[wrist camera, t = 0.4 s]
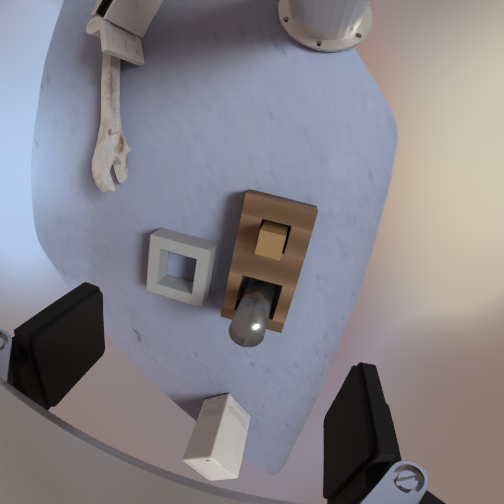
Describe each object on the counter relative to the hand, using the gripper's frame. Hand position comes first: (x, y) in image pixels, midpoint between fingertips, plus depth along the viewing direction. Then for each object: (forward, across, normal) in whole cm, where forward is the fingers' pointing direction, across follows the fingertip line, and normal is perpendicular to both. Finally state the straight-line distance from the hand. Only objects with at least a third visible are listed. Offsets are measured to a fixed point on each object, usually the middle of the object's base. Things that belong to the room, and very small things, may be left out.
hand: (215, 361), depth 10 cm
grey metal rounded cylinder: (+33, 0, +12) cm, 35 cm away
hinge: (+31, +26, -24) cm, 47 cm away
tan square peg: (+30, 0, +3) cm, 30 cm away
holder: (+32, +12, +11) cm, 36 cm away
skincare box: (+34, 0, +40) cm, 53 cm away
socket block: (+32, 0, +7) cm, 33 cm away
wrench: (+32, +27, -13) cm, 44 cm away
